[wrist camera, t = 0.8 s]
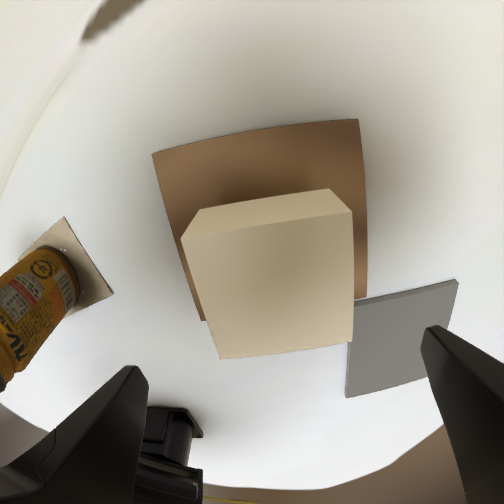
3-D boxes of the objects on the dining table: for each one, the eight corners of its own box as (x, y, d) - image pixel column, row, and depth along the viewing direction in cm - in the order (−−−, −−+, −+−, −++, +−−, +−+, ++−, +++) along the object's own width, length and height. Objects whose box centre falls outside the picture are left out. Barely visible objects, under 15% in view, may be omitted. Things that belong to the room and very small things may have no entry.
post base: (362, 289, 20) (395, 356, 14) (203, 312, 21) (185, 384, 15) (352, 119, 15) (408, 120, 9) (157, 152, 16) (100, 172, 10)
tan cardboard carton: (336, 297, 15) (352, 341, 12) (227, 313, 16) (220, 359, 12) (329, 188, 12) (351, 211, 9) (199, 209, 13) (180, 238, 10)
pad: (429, 371, 25) (431, 375, 24) (344, 394, 25) (345, 398, 25) (455, 279, 19) (458, 282, 19) (349, 302, 20) (351, 307, 20)
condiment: (18, 257, 20) (-63, 333, 9) (64, 216, 18) (-49, 302, 7) (61, 319, 23) (-2, 408, 12) (114, 292, 21) (39, 410, 10)
